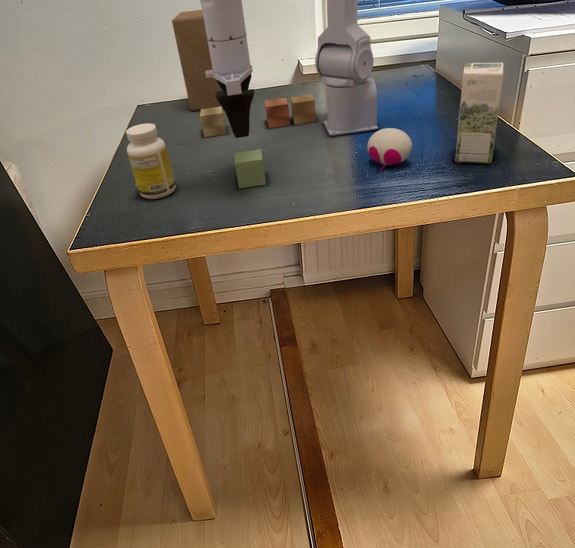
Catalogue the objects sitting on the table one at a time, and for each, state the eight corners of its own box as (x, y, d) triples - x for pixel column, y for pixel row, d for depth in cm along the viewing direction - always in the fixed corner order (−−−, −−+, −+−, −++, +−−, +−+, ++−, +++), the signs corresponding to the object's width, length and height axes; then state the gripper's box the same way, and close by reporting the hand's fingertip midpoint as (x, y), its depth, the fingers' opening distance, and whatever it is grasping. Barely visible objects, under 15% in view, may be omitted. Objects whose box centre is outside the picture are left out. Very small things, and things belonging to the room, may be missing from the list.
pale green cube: (264, 173, 89) (260, 148, 87) (266, 184, 86) (262, 159, 83) (238, 177, 89) (234, 152, 87) (239, 188, 85) (234, 163, 83)
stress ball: (365, 181, 90) (352, 159, 85) (382, 142, 92) (370, 119, 86) (405, 187, 86) (394, 165, 81) (422, 147, 88) (413, 122, 82)
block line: (313, 115, 112) (311, 93, 109) (316, 121, 108) (314, 100, 105) (204, 130, 111) (200, 109, 109) (204, 137, 107) (200, 115, 105)
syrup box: (492, 150, 87) (504, 60, 79) (491, 165, 83) (504, 71, 74) (457, 149, 89) (465, 61, 81) (454, 163, 85) (462, 71, 76)
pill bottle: (161, 181, 91) (144, 119, 85) (183, 188, 88) (168, 124, 81) (132, 195, 88) (113, 132, 81) (155, 203, 84) (136, 138, 78)
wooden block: (232, 107, 122) (216, 14, 111) (190, 111, 123) (170, 19, 111) (236, 95, 130) (222, 7, 119) (197, 99, 131) (179, 12, 119)
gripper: (201, 31, 81) (216, 117, 89) (197, 51, 69) (215, 147, 77) (245, 25, 81) (257, 111, 89) (249, 44, 69) (262, 141, 77)
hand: (241, 128), depth 83 cm, fingers open, 7 cm apart
